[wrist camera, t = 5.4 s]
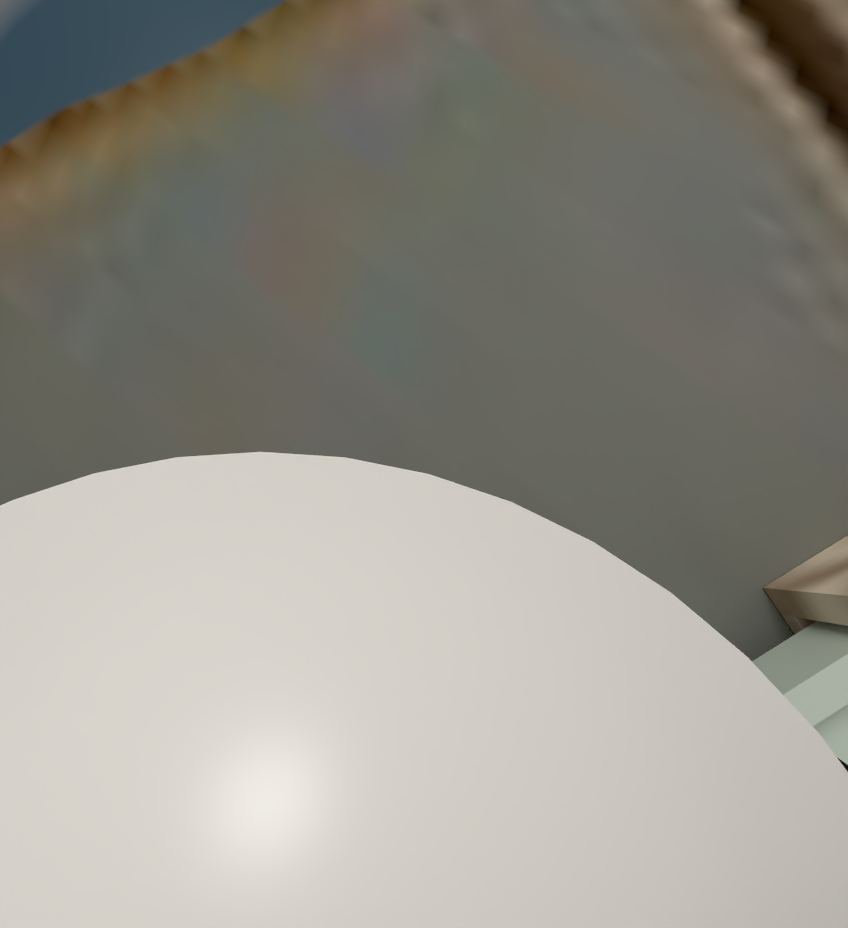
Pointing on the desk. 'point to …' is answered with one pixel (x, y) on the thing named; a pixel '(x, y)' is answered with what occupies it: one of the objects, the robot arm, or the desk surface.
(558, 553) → the white rounded cylinder
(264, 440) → the desk surface
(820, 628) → the tray
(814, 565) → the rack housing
